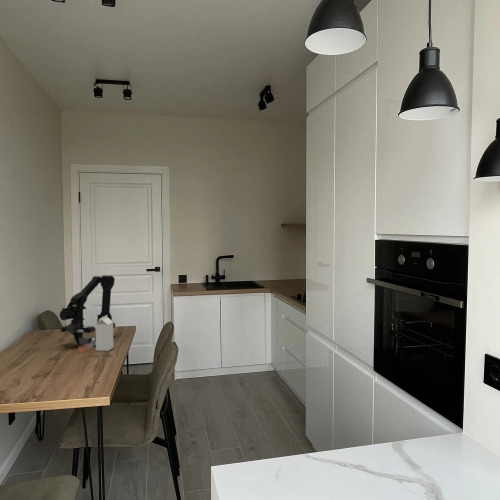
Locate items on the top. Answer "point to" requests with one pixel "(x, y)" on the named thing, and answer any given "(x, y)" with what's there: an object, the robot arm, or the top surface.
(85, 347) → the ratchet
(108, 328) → the milk carton
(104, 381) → the top surface
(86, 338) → the dark-topped grey cube
